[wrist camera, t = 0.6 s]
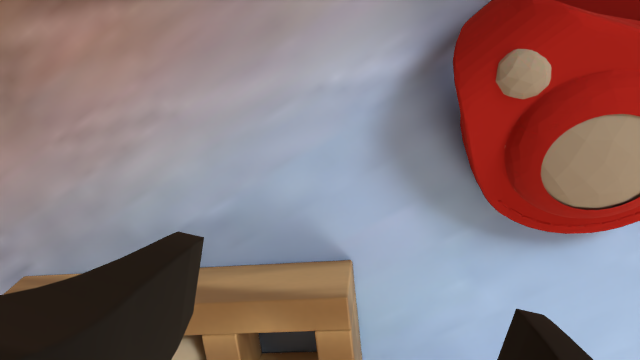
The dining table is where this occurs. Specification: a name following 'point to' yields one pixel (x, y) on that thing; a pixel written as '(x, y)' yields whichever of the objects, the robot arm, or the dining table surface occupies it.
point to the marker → (190, 348)
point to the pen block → (267, 308)
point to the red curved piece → (553, 110)
